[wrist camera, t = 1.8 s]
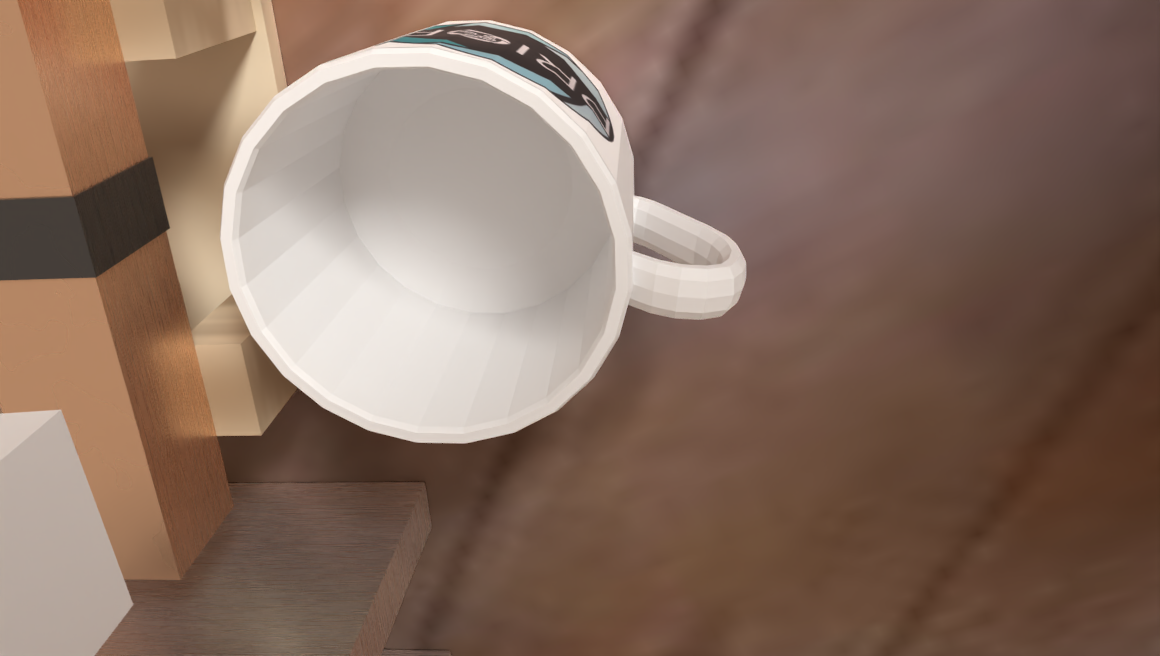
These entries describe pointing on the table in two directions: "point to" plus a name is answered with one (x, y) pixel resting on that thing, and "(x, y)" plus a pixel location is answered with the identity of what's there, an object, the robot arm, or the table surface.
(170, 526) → the block
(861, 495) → the table surface
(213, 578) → the twin slotted uprights
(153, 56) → the rack
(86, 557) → the robot arm
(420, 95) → the mug
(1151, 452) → the table surface
